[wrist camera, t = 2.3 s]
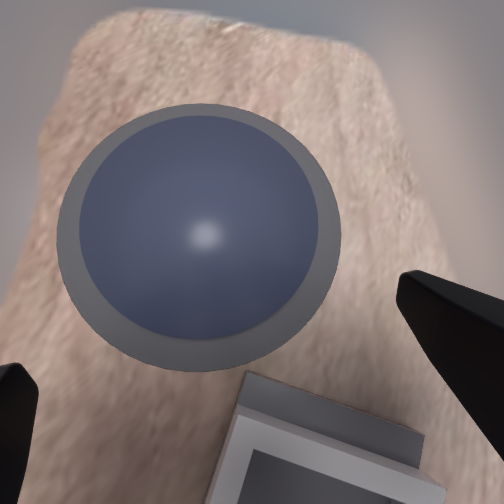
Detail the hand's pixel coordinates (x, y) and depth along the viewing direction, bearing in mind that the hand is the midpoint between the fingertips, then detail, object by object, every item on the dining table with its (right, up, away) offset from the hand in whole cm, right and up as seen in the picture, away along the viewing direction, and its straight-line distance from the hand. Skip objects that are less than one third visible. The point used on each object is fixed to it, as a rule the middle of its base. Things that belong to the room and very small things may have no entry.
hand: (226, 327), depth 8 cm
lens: (-1, -1, +10) cm, 10 cm away
